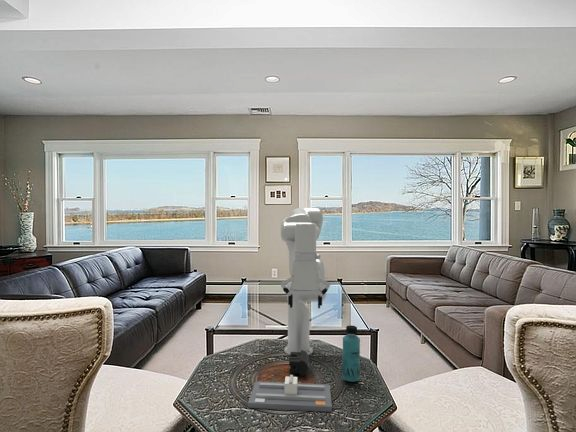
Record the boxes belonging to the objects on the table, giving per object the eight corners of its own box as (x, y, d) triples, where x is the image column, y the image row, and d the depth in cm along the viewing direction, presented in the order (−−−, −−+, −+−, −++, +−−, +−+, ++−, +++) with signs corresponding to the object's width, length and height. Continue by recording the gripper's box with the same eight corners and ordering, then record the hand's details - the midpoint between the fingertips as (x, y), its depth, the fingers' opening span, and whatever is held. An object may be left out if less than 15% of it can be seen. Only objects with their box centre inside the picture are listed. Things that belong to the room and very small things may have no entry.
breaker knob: (285, 388, 116) (285, 374, 116) (297, 388, 116) (297, 375, 116) (284, 395, 111) (284, 381, 111) (296, 396, 111) (296, 382, 111)
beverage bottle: (337, 380, 126) (338, 326, 126) (349, 375, 130) (350, 322, 130) (352, 387, 121) (352, 330, 121) (363, 382, 125) (364, 326, 125)
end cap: (308, 378, 127) (308, 360, 127) (288, 377, 128) (289, 359, 128) (308, 367, 137) (308, 350, 137) (290, 366, 138) (290, 349, 138)
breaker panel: (255, 385, 122) (255, 378, 122) (329, 388, 120) (329, 381, 120) (248, 407, 108) (248, 399, 108) (331, 411, 106) (332, 403, 106)
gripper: (329, 257, 124) (329, 305, 123) (281, 256, 125) (281, 304, 124) (330, 258, 116) (330, 310, 116) (279, 258, 118) (279, 309, 117)
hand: (305, 307), depth 120 cm, fingers open, 9 cm apart
